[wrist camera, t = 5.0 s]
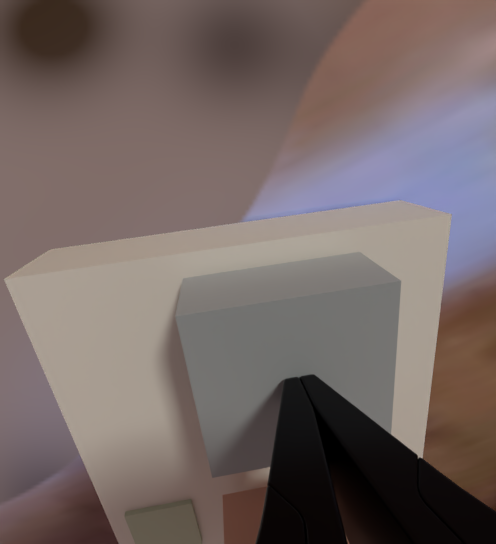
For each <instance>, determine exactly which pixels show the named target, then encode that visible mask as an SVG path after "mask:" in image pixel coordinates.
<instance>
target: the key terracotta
mask: <svg viewBox="0 0 496 544" xmlns="http://www.w3.org/2000/svg"><path fill="white" fill-rule="evenodd" d="M267 487H268V486H266V487H261V488H256V489H251V490H245V491H240V492H235V493H230V494H225V495H222V497H223V524H224V544H255V542H256V539H257V535H258V531H259V527H260V522H261V516H262V511H263V506H264V501H265V494H266V488H267ZM345 535H346V534H345ZM346 538H347V537H346ZM347 542H348V539H347ZM348 544H349V542H348Z"/></svg>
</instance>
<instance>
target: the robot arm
mask: <svg viewBox="0 0 496 544" xmlns="http://www.w3.org/2000/svg"><path fill="white" fill-rule="evenodd" d="M267 486H268V487H267V488H266V494H265V501H264V506H263V511H262V516H261V522H260V527H259V531H258V535H257V539H256V542H255V544H348V542H349V544H496V511H494V510H493V509H491V508H490V507H488V506H487V505H485V504H484V503H482V502H481V501H480V500H478V499H477V498H475V497H474V496H472V495H471V494H469V493H468V492H466V491H465V490H464V489H462V488H461V487H459V486H458V485H457V484H455V483H454V482H453V481H451V480H450V479H449V478H447V477H446V476H444V475H443V474H442V473H440V472H439V471H438V470H436V469H435V468H434V467H433V466H431V465H430V464H429V463H427V462H426V461H425V460H424V459H422V458H421V457H419V458H418V455H417V454H416V453H414V452H413V451H412V450H411V449H409V448H408V447H407V446H405V445H404V444H403V443H402V442H400V441H399V440H398V439H397V438H395V437H394V436H393V435H391V434H390V433H389V432H388V431H386V430H385V429H384V428H382V427H381V426H380V425H379V424H377V423H376V422H375V421H373V420H372V419H371V418H370V417H368V416H367V415H366V414H364V413H363V412H362V411H361V410H359V409H358V408H357V407H356V406H354V405H353V404H352V403H350V402H349V401H348V400H347V399H345V398H344V397H343V396H341V395H340V394H339V393H338V392H336V391H335V390H334V389H332V388H331V387H330V386H329V385H327V384H326V383H325V382H323V381H322V380H321V379H320V378H318V377H317V376H316V375H314V374H309V375H304V376H300V378H298V377H292V378H286V379H285V380H284V383H283V389H282V395H281V402H280V408H279V414H278V421H277V427H276V433H275V439H274V446H273V452H272V458H271V464H270V471H269V477H268V483H267ZM345 534H346V535H345ZM346 537H347V538H346ZM347 539H348V542H347Z"/></svg>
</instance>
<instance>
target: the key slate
mask: <svg viewBox="0 0 496 544" xmlns="http://www.w3.org/2000/svg"><path fill="white" fill-rule="evenodd" d="M400 293H401V280H399V279H398V278H396V277H395V276H394V275H392V274H391V273H389V272H388V271H386V270H385V269H383V268H382V267H381V266H379V265H378V264H376V263H375V262H373V261H372V260H371V259H369V258H368V257H366V256H365V255H363V254H362V253H361V252H355V253H348V254H341V255H335V256H328V257H321V258H315V259H308V260H301V261H295V262H288V263H281V264H275V265H268V266H261V267H255V268H248V269H241V270H234V271H228V272H221V273H214V274H208V275H201V276H194V277H188V278H183V280H182V285H181V290H180V295H179V300H178V305H177V310H176V315H175V317H176V322H177V326H178V331H179V335H180V339H181V344H182V348H183V352H184V357H185V361H186V366H187V370H188V374H189V379H190V383H191V387H192V392H193V396H194V400H195V405H196V409H197V414H198V418H199V422H200V427H201V431H202V435H203V440H204V444H205V449H206V453H207V457H208V462H209V466H210V470H211V475H212V478H214V477H220V476H225V475H230V474H236V473H241V472H246V471H252V470H257V469H262V468H267V467H270V464H271V458H272V452H273V446H274V439H275V433H276V427H277V421H278V414H279V408H280V402H281V395H282V389H283V383H284V380H285V379H286V378H292V377H298V378H300V376H304V375H309V374H314V375H316V376H317V377H318V378H320V379H321V380H322V381H323V382H325V383H326V384H327V385H329V386H330V387H331V388H332V389H334V390H335V391H336V392H338V393H339V394H340V395H341V396H343V397H344V398H345V399H347V400H348V401H349V402H350V403H352V404H353V405H354V406H356V407H357V408H358V409H359V410H361V411H362V412H363V413H364V414H366V415H367V416H368V417H370V418H371V419H372V420H373V421H375V422H376V423H377V424H379V425H380V426H381V427H382V428H384V429H385V430H386V431H388V432H389V433H390V434H391V428H392V413H393V398H394V383H395V368H396V353H397V338H398V323H399V308H400Z"/></svg>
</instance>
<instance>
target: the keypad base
mask: <svg viewBox="0 0 496 544" xmlns="http://www.w3.org/2000/svg"><path fill="white" fill-rule="evenodd" d="M451 216H452V214H449V213H445V212H441V211H438V210H434V209H431V208H427V207H423V206H420V205H416V204H413V203H409V202H405V201H402V200H399V201H391V202H384V203H377V204H370V205H363V206H356V207H349V208H342V209H335V210H327V211H320V212H313V213H306V214H299V215H292V216H285V217H278V218H271V219H263V220H256V221H249V222H242V223H236V224H228V225H222V226H214V227H207V228H199V229H192V230H185V231H178V232H171V233H164V234H157V235H150V236H143V237H136V238H129V239H121V240H114V241H107V242H100V243H93V244H86V245H80V246H72V247H65V248H57V249H51V250H49V251H47V252H46V253H44V254H42V255H41V256H39V257H38V258H36V259H35V260H33V261H32V262H30V263H29V264H27V265H25V266H24V267H22V268H21V269H19V270H18V271H16V272H14V273H13V274H11V275H10V276H8V277H7V278H5V279H4V281H5V283H6V285H7V287H8V290H9V292H10V294H11V297H12V299H13V301H14V304H15V306H16V308H17V310H18V313H19V315H20V317H21V320H22V322H23V324H24V326H25V329H26V331H27V333H28V336H29V338H30V340H31V343H32V345H33V347H34V350H35V351H36V354H37V357H38V359H39V361H40V363H41V366H42V368H43V370H44V373H45V375H46V377H47V380H48V382H49V384H50V386H51V389H52V391H53V393H54V396H55V398H56V400H57V403H58V405H59V407H60V410H61V412H62V414H63V417H64V419H65V421H66V423H67V426H68V428H69V430H70V433H71V435H72V437H73V439H74V442H75V444H76V446H77V449H78V451H79V453H80V456H81V458H82V460H83V463H84V465H85V467H86V470H87V472H88V474H89V476H90V479H91V481H92V483H93V486H94V488H95V490H96V493H97V495H98V497H99V500H100V502H101V504H102V506H103V509H104V511H105V513H106V516H107V518H108V520H109V523H110V525H111V527H112V530H113V532H114V534H115V536H116V539H117V541H118V543H119V544H224V524H223V497H222V495H225V494H230V493H235V492H240V491H245V490H251V489H256V488H261V487H266V486H267V483H268V477H269V471H270V467H267V468H262V469H257V470H252V471H246V472H241V473H236V474H230V475H225V476H220V477H214V478H212V475H211V470H210V466H209V462H208V457H207V453H206V449H205V444H204V440H203V435H202V431H201V427H200V422H199V418H198V414H197V409H196V405H195V400H194V396H193V392H192V387H191V383H190V379H189V374H188V370H187V366H186V361H185V357H184V352H183V348H182V344H181V339H180V335H179V331H178V326H177V322H176V317H175V315H176V310H177V305H178V300H179V295H180V290H181V285H182V280H183V278H188V277H194V276H201V275H208V274H214V273H221V272H228V271H234V270H241V269H248V268H255V267H261V266H268V265H275V264H281V263H288V262H295V261H301V260H308V259H315V258H321V257H328V256H335V255H341V254H348V253H355V252H361V253H362V254H363V255H365V256H366V257H368V258H369V259H371V260H372V261H373V262H375V263H376V264H378V265H379V266H381V267H382V268H383V269H385V270H386V271H388V272H389V273H391V274H392V275H394V276H395V277H396V278H398V279H399V280H401V293H400V308H399V323H398V338H397V353H396V368H395V383H394V398H393V413H392V428H391V435H393V436H394V437H395V438H397V439H398V440H399V441H400V442H402V443H403V444H404V445H405V446H407V447H408V448H409V449H411V450H412V451H413V452H414V453H416V454H417V455H418V458H419V457H421V458H423V449H424V441H425V433H426V424H427V416H428V408H429V399H430V391H431V383H432V374H433V366H434V358H435V349H436V341H437V333H438V324H439V316H440V308H441V299H442V291H443V283H444V274H445V266H446V258H447V249H448V241H449V233H450V224H451Z"/></svg>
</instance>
